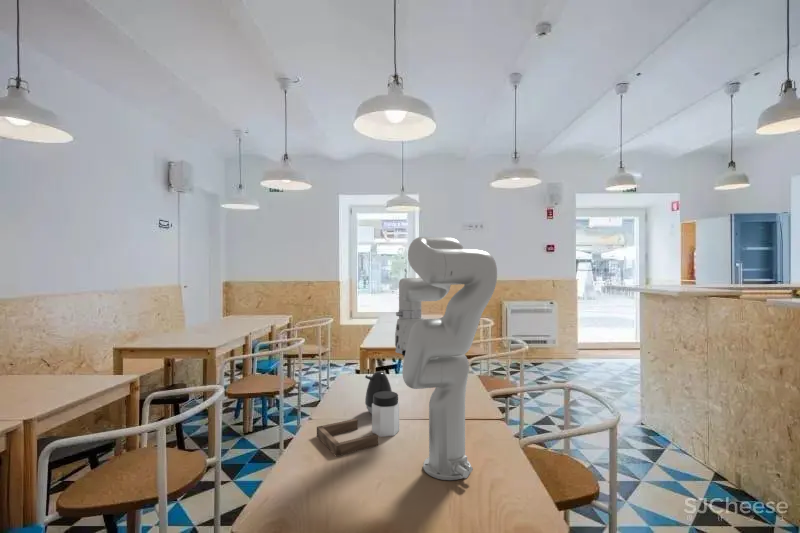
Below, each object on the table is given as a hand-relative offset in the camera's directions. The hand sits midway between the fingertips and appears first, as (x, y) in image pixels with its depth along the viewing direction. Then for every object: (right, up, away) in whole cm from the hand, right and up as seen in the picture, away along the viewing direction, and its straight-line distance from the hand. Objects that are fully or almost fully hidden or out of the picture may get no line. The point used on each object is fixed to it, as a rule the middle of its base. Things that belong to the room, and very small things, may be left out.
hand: (410, 369), depth 139 cm
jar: (-8, -19, -5) cm, 22 cm away
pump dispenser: (-11, -19, +12) cm, 25 cm away
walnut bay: (-19, -19, -12) cm, 30 cm away
